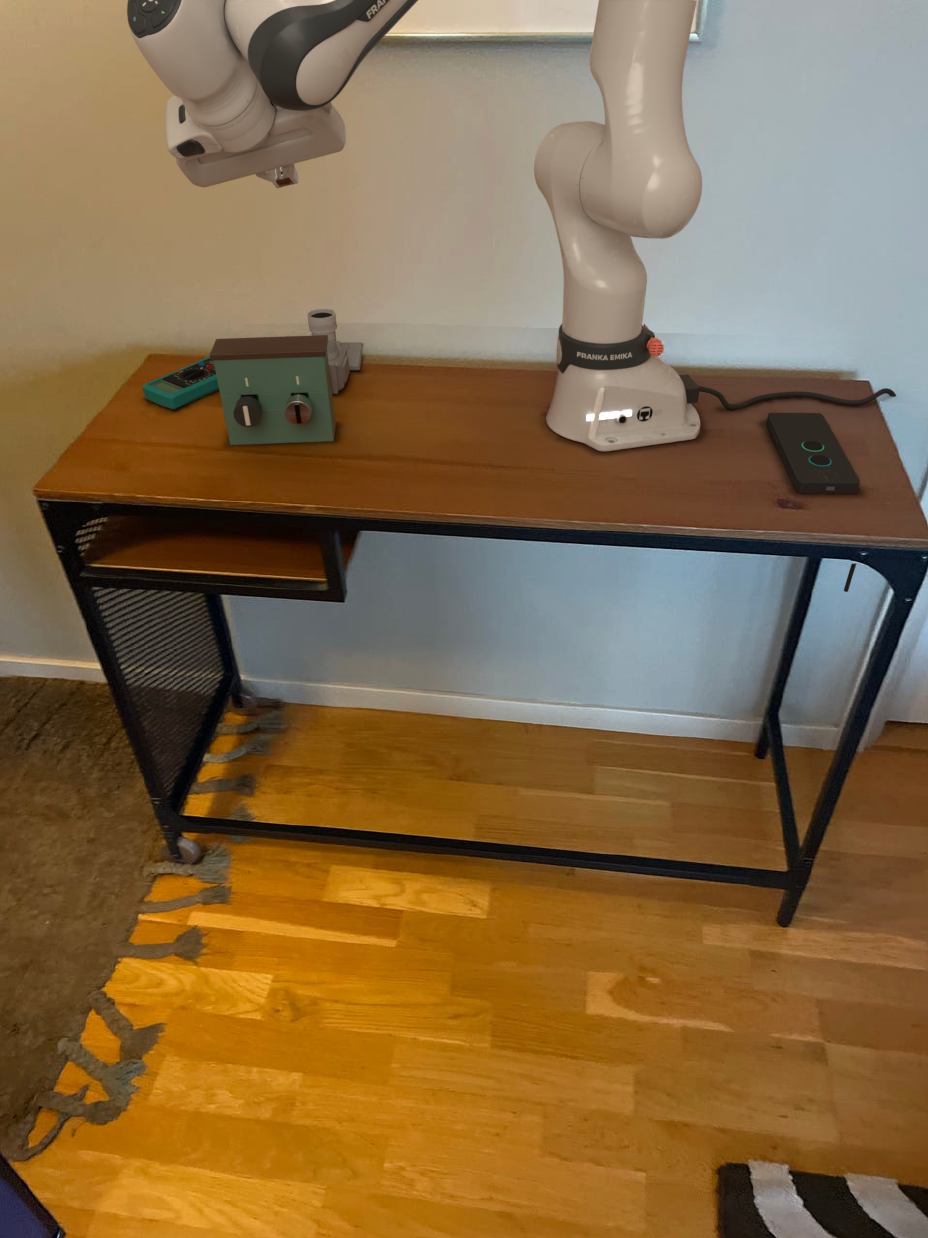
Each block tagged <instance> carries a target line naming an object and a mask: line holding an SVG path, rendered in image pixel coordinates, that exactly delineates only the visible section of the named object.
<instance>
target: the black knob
mask: <svg viewBox="0 0 928 1238" xmlns="http://www.w3.org/2000/svg"><path fill="white" fill-rule="evenodd" d="M261 413H262V406H261V404H260V403H259V401H258V400H257V399H256V397H255V396H254V395H249V396H245V397H242V398H240V399H239V400H238V401H237V403H236V406H235V409H234V413H233V414H234V418H235V420H236V422H237V423H238V424H240V425H242V426H244V427H253V426H255V425H256V424H257V423H258V422H259V420H260V417H261Z"/></svg>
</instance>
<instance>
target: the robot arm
mask: <svg viewBox="0 0 928 1238" xmlns="http://www.w3.org/2000/svg"><path fill="white" fill-rule="evenodd" d="M418 1H419V0H127V4H126V5H127V6H126V16H127V23H128V27H129V31H130V33H131V36H132V39H133V40H134V42H135V45H136V46H137V48H138V49H139V52H140V53H141V55H142V56H143V58H144V59H145V61H146V62H147V64H148V65H149V67H150V68H151V69H152V71H153V72H154V73H155V75H156V77H158V79H159V80H160V81H161V82H162V84H163V85H164V86H165V87H166V89H167V90H168V91H169V92H170V93H171V94H172V95H173V96H171V97H170V98H169V99H168V100H167V101H166V102H165V103H166V104H165V118H164V119H165V126H164V127H165V139H166V146H167V150H168V152H169V154H170V155H171V156H172V157H174V158H175V162H176V164H177V165H176V166H177V167H178V168H179V169H180V171H181V172H182V173H183V175H184V176H185V178H187V180H188V181H189V183H191V184H192V185H195V186H196V187H199V188H209V187H212V186H216V185H220V184H222V183H227V182H231V181H234V180H238V179H242V178H246V177H249V176H253V175H255V176H256V177H257V178H259V179H261V180H264V181H267V182H270V183H272V185H273V186H274V187H275V188H276V189H277V190H278V189H281V188H284V187H289V186H292V185H297V184H299V172H298V170H297V168H296V164H299V163H302V162H306V161H309V160H314V159H317V158H320V157H325V156H329V155H332V154H337V153H339V152H342V151H343V150H344V148H345V146H346V141H347V140H346V139H347V134H346V125H345V120H344V119H343V117H342V116H341V114H340V113H339V111H338V109H337V108H336V107H335V106H334V104H332V101H334V100H335V99H336V98H338V96H339V95H340V94H341V92H342V91H343V90H344V89H345V87H346V86H347V85H348V83H349V81H350V80H351V78H352V77H353V76H354V73H355V72H356V70H357V69H358V67H359V66H360V65H361V63H362V62H363V61H364V60H365V58H366V57H367V56H368V55H369V54H370V52H371V51H372V50H373V49H374V48H375V47H376V46H377V45H378V43H379V42H381V40H382V39H384V37H385V36H387V34H388V33H389V32H390V31H391V30H392V29H393V28H394V27H395V26H396V24H398V22H400V20H402V18H403V17H404V16H405V15H406V14H407V13H408V12H409V11H410V10H411V9H412V8H413V7H414V5H415V4H417V2H418ZM697 3H698V0H598V3H597V9H596V10H597V11H596V16H595V22H594V29H593V34H592V39H591V40H592V41H591V45H590V51H589V70H590V73H591V76H592V78H593V79H594V81H595V82H596V85H597V86H598V88H599V90H600V94H601V97H602V102H603V110H604V123H599V122H596V121H591V120H587V121H585V120H584V121H572V122H565V123H561V124H558V125H555V126H554V127H553V128H551V129H550V130H549V131H548V132H547V133H546V134H545V135H544V137H543V138H542V140H541V141H540V143H539V145H538V147H537V150H536V154H535V157H534V163H533V173H534V175H533V176H534V180H535V183H536V186H537V188H538V190H539V191H540V194H542V196H543V198H544V199H545V201H546V203H547V206H548V208H549V211H550V214H551V217H552V220H553V223H554V228H555V232H556V236H557V239H558V240H557V241H558V245H559V250H560V255H561V262H562V263H561V264H562V273H563V297H562V298H563V300H562V322H561V324H560V325H559V327H558V335H557V338H556V339H557V340H556V357H555V358H556V359H555V361H556V366H557V375H556V379H555V385H554V390H553V394H552V398H551V401H550V404H549V408H548V411H547V413H546V416H545V422H546V424H547V426H548V427H549V429H550V430H551V431H552V432H554V433H555V434H557V435H559V436H560V437H563V438H565V439H568V440H570V441H575V442H578V443H582V444H585V445H587V446H588V447H590V448H592V449H594V450H596V451H599V452H611V451H613V452H614V451H620V450H626V449H633V448H640V447H648V446H655V445H663V444H670V443H676V442H684V441H691V440H695V439H696V438H697V437H698V436H699V435H700V432H701V419H700V415H699V413H698V411H697V409H696V407H694V405H693V404H698V403H699V396H700V393H706V394H710V395H713V396H714V397H716V398H717V399H718V400H719V401H720V403H721V405H722V406H723V407H724V408H725V409H728V410H731V411H735V410H740V409H743V408H747V407H749V406H751V405H753V404H755V403H758V402H761V401H767V400H772V399H780V398H781V399H782V398H794V397H795V398H798V397H799V398H811V399H816V400H817V399H818V400H822V401H825V402H829V403H833V404H838V405H844V406H862V405H866V404H868V403H870V402H872V401H874V400H875V399H877V398H879V397H881V396H882V395H885V394H887V395H888V396H889V397H891V398H894V397H897V395H896V392H895V391H894V390H893V389H891V388H887V387H885V388H881V389H879V390H878V391H876V392H875V393H873V394H871V395H869V396H868V397H865V398H862V399H853V400H852V399H845V398H840V397H835V396H831V395H826V394H823V393H818V392H812V391H782V392H781V391H780V392H773V393H766V394H760V395H757V396H755V397H752V398H750V399H747V400H746V401H744V402H741V403H738V404H732V403H729V402H728V401H727V399H726V398H725V395H723V393H722V392H720V391H718V390H716V389H714V388H712V387H711V388H710V387H706V386H702V385H701V386H700V385H698V384H697V383H696V381H695V380H694V379H693V378H692V377H691V376H690V375H689V374H686V373H685V374H679V373H678V372H677V371H676V370H675V369H674V368H673V367H672V366H670V365H669V364H668V363H666V362H665V361H664V360H662V359H661V358H660V356H661V355H662V354H663V353H664V350H665V348H664V347H665V346H664V344H663V343H662V341H661V339H659V338H658V337H656V335H655V333H654V331H652V330H651V329H649V327H648V326H647V324H646V323H643V322H644V312H645V303H646V294H647V285H648V274H647V270H646V266H645V263H644V262H643V260H642V259H641V257H640V256H639V254H638V252H637V251H636V248H635V246H634V242H633V239H632V237H633V238H641V239H660V240H662V239H669V238H672V237H674V236H676V235H677V234H679V233H680V232H681V231H683V230H684V229H685V228H686V227H687V225H688V224H689V223H690V221H691V220H692V219H693V218H694V216H695V214H696V213H697V210H698V208H699V205H700V202H701V198H702V194H703V176H702V171H701V168H700V165H699V163H698V162H697V160H696V158H695V157H694V154H693V152H692V150H691V148H690V145H689V141H688V138H687V134H686V127H685V121H684V110H683V109H684V108H683V81H684V80H683V79H684V72H685V71H684V70H685V64H686V59H687V55H688V54H687V52H688V47H689V42H690V38H691V37H690V36H691V32H692V27H693V22H694V17H695V12H696V7H697ZM856 566H857V563H856V562H855V563H851V565H850V568H849V571H848V573H847V578H846V581H845V584H844V588H843V592H845V593H849V590H850V586H851V583H852V579H853V576H854V573H855V571H856Z"/></svg>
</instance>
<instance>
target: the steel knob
mask: <svg viewBox="0 0 928 1238" xmlns="http://www.w3.org/2000/svg"><path fill="white" fill-rule="evenodd" d="M311 414H312V403H311V401H310V400H309V399H308V398H307V397H306V396H305V394H303V393H299V394H298V395H293V396H291V397H290V398H289V399H288V401H287V403H286V408H285V416H286V418H287V419H288V421H289V422H291V423H292V424H295V425H303V424H306V423H307V422H308V421H309V420H310V418H311Z"/></svg>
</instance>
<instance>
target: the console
mask: <svg viewBox="0 0 928 1238" xmlns="http://www.w3.org/2000/svg"><path fill="white" fill-rule="evenodd" d="M327 346H328V335H313V336H312V335H289V336H261V337H259V336H258V337H233V338H231V337H228V338H227V337H226V338H215V341H214V343H213V346H212V348H211V350H210V353H209V357H210V360H213V361H214V366H215V371H216V376H217V381H218V386H219V390H218V391H219V396H220V402H221V406H222V410H223V416H224V421H225V426H226V431H227V436H228V440H229V446H242V445H244V446H245V445H246V446H247V445H269V444H271V445H272V444H292V443H293V444H294V443H296V444H297V443H320V442H321V443H323V442H334V441H335V435H336V427H337V422H336V414H335V405H334V396H333V393H332V387H331V378H330V370H329V361H328V352H327ZM299 393H303V394H305V396H306V397H307V398H308V399H309V400H310V401H311V403H312V414H311V418H310V420H309V421H308V422H307V423H306V424H303V425H295V424H292V423H291V422H289V421H288V419H287V418H286V416H285V408H286V403H287V401H288V399H289V398H290V397H291V396H293V395H298V394H299ZM249 395H254V396H255V397H256V399H257V400H258V401H259V403H260V404H261V406H262V413H261V417H260V420H259V422H258V423H257V424H256V425H255V426H253V427H244V426H242V425H240V424H238V423H237V422H236V420H235V418H234V414H233V413H234V409H235V406H236V403H237V401H238V400H239V399H240V398H242V397H245V396H249Z"/></svg>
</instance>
